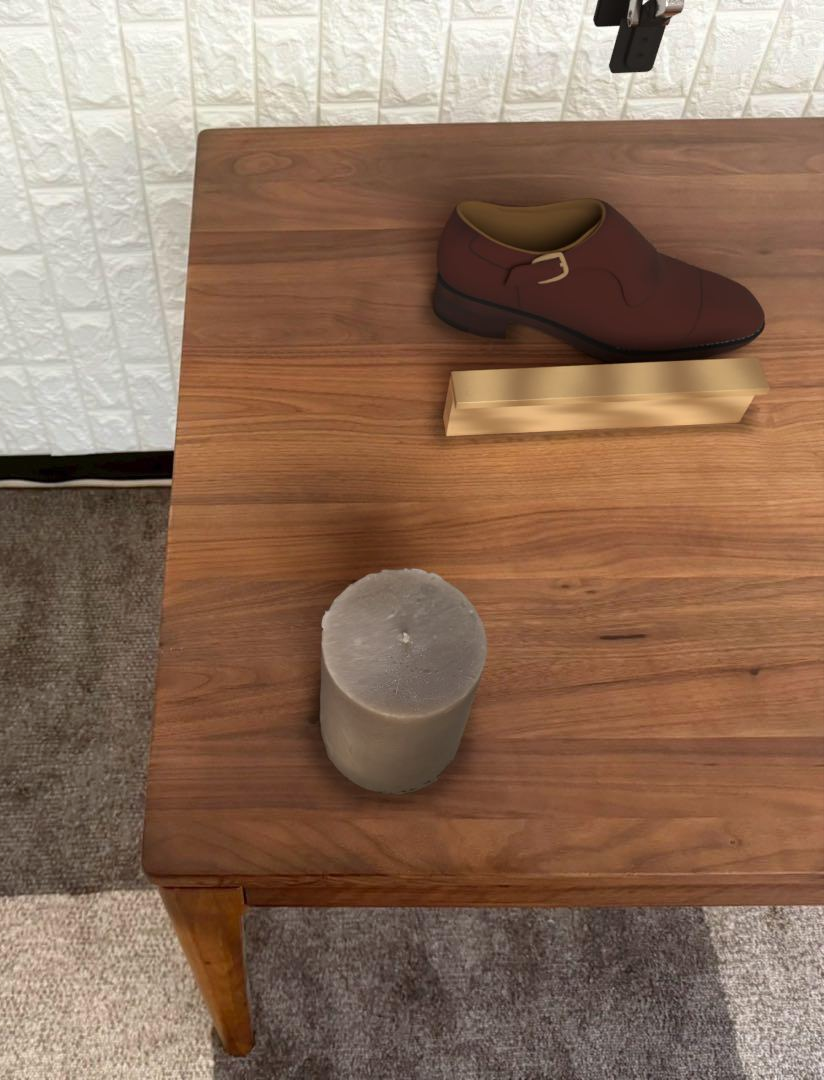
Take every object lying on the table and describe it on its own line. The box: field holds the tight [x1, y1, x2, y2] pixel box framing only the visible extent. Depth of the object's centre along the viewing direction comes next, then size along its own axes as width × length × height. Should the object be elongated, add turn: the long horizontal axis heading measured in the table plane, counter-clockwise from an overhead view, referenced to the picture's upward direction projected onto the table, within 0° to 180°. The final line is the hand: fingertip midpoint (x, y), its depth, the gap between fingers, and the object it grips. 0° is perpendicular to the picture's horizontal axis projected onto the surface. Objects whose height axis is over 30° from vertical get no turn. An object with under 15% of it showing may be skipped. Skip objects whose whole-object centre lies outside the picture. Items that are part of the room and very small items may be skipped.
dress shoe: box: [433, 197, 766, 364], centre depth 84 cm, size 9×28×12 cm, turn 80°
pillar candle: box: [319, 567, 488, 795], centre depth 63 cm, size 10×10×15 cm
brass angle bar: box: [442, 356, 771, 437], centre depth 80 cm, size 24×3×6 cm, turn 92°
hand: (621, 44), depth 77 cm, fingers open, 5 cm apart
